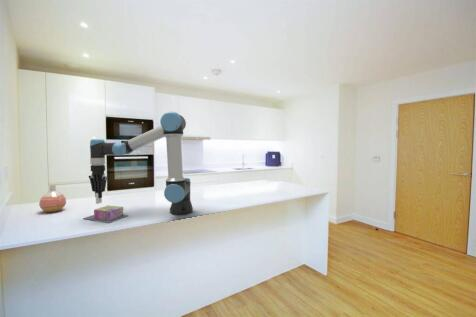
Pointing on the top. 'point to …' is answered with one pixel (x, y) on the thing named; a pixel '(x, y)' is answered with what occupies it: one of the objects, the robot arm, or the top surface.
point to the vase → (52, 200)
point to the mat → (103, 220)
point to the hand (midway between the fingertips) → (98, 203)
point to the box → (108, 212)
